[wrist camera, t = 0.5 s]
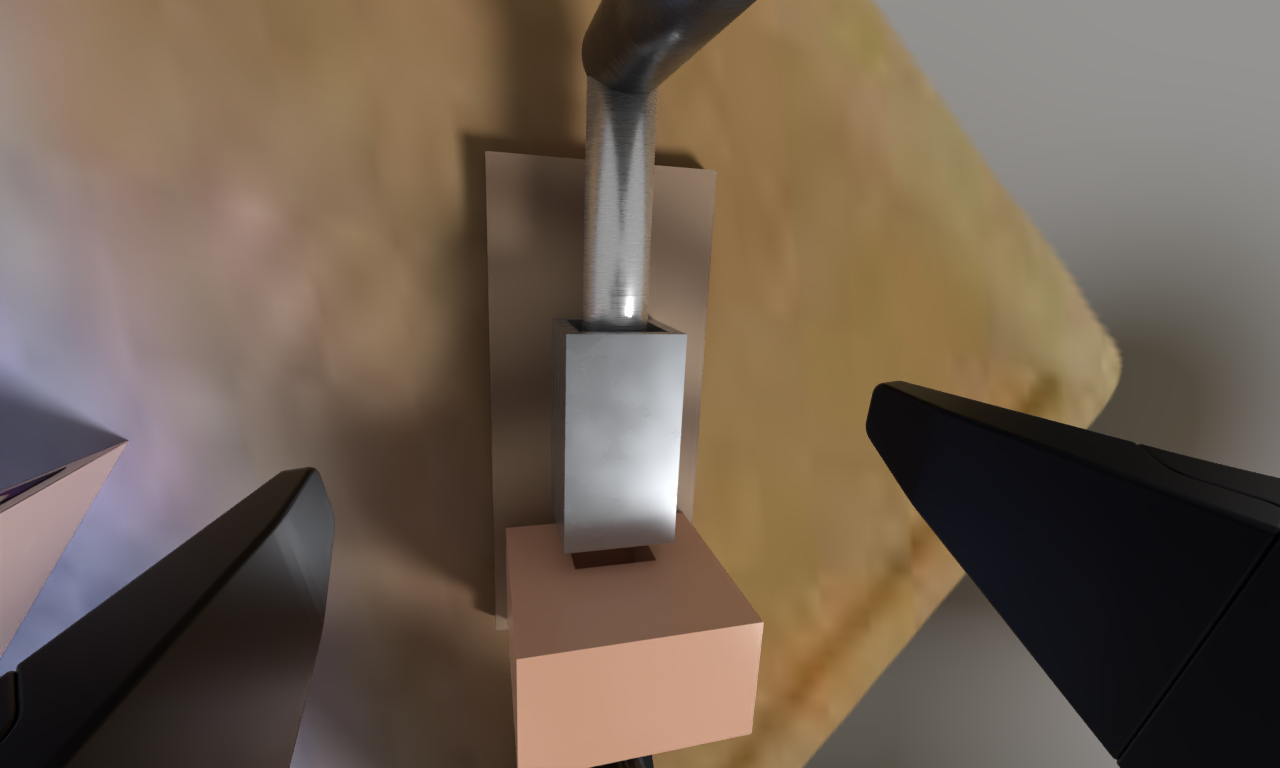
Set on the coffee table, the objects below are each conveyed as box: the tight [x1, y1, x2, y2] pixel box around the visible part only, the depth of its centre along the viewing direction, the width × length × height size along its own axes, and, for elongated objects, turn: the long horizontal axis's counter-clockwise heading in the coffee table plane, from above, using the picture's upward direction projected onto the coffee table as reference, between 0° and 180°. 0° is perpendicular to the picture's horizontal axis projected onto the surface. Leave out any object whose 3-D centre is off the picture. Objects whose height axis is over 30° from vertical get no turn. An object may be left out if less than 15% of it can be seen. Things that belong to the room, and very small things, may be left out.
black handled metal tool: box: [582, 0, 756, 332], centre depth 16 cm, size 16×3×12 cm, turn 178°
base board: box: [485, 151, 717, 631], centre depth 24 cm, size 20×9×1 cm, turn 178°
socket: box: [506, 512, 764, 768], centre depth 22 cm, size 4×8×8 cm, turn 88°
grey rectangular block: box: [551, 318, 687, 554], centre depth 22 cm, size 8×4×4 cm, turn 178°
